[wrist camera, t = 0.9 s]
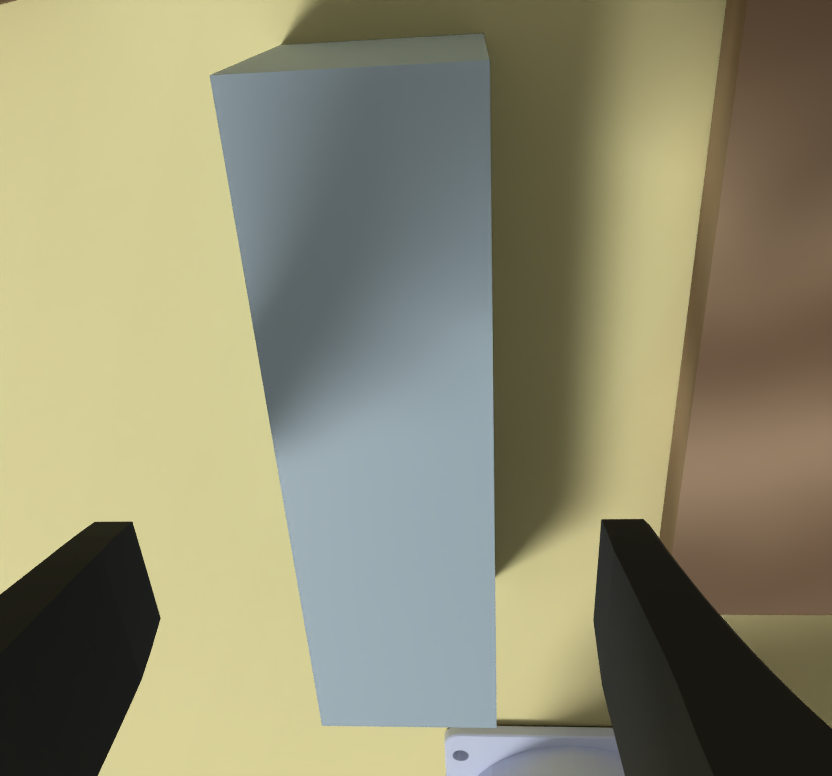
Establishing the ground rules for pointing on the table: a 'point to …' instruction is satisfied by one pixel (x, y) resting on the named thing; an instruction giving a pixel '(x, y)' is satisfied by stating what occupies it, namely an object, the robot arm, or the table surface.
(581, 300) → the table surface
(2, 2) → the wooden block set
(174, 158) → the table surface
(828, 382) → the peg plate
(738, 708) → the robot arm
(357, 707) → the blue-grey rectangular block
